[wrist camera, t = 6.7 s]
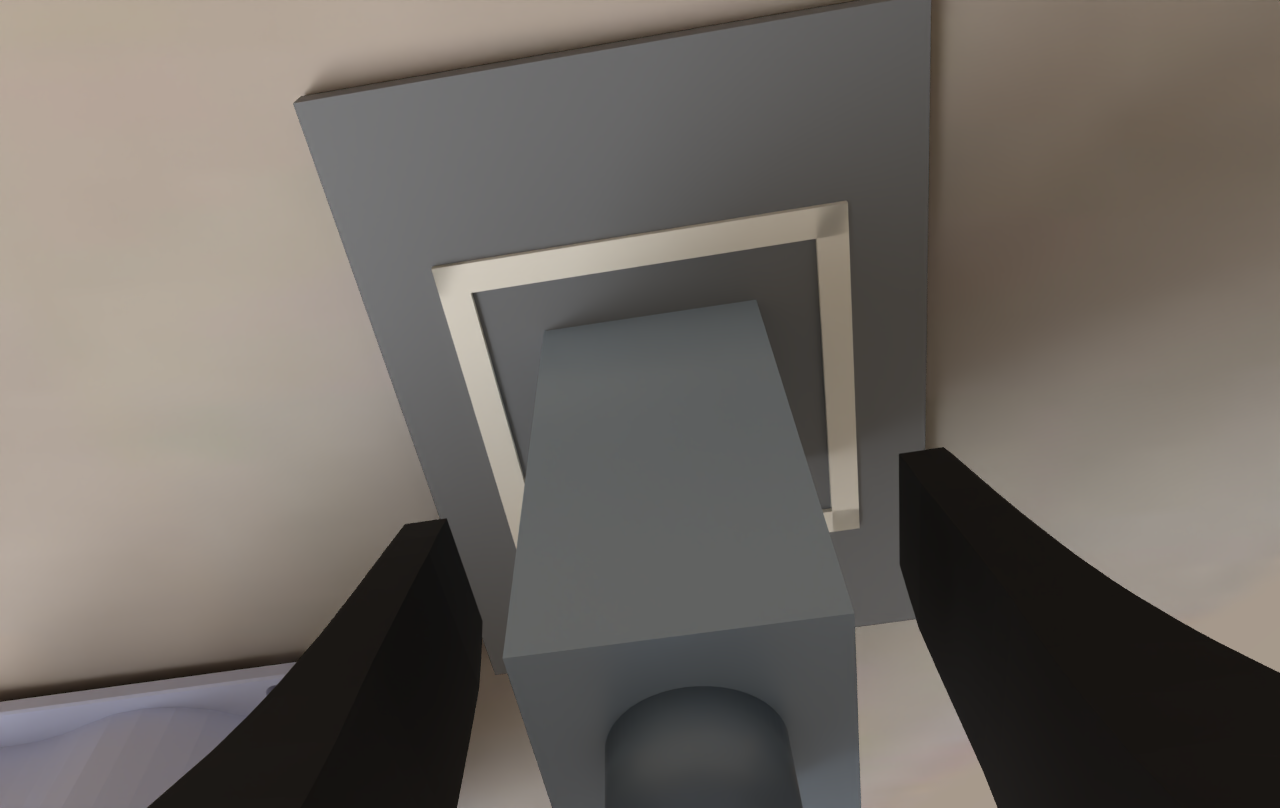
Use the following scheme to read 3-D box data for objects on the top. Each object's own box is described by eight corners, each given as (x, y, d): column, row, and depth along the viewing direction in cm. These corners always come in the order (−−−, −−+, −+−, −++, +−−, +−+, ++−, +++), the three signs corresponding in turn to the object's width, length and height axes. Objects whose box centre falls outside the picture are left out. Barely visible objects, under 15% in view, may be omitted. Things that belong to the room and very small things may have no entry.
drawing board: (497, 660, 20) (495, 678, 19) (300, 96, 13) (290, 105, 13) (917, 603, 19) (924, 621, 19) (922, -11, 13) (933, -5, 12)
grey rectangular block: (583, 497, 17) (565, 945, 10) (543, 331, 15) (491, 743, 8) (771, 470, 17) (882, 910, 10) (756, 299, 15) (880, 695, 8)
